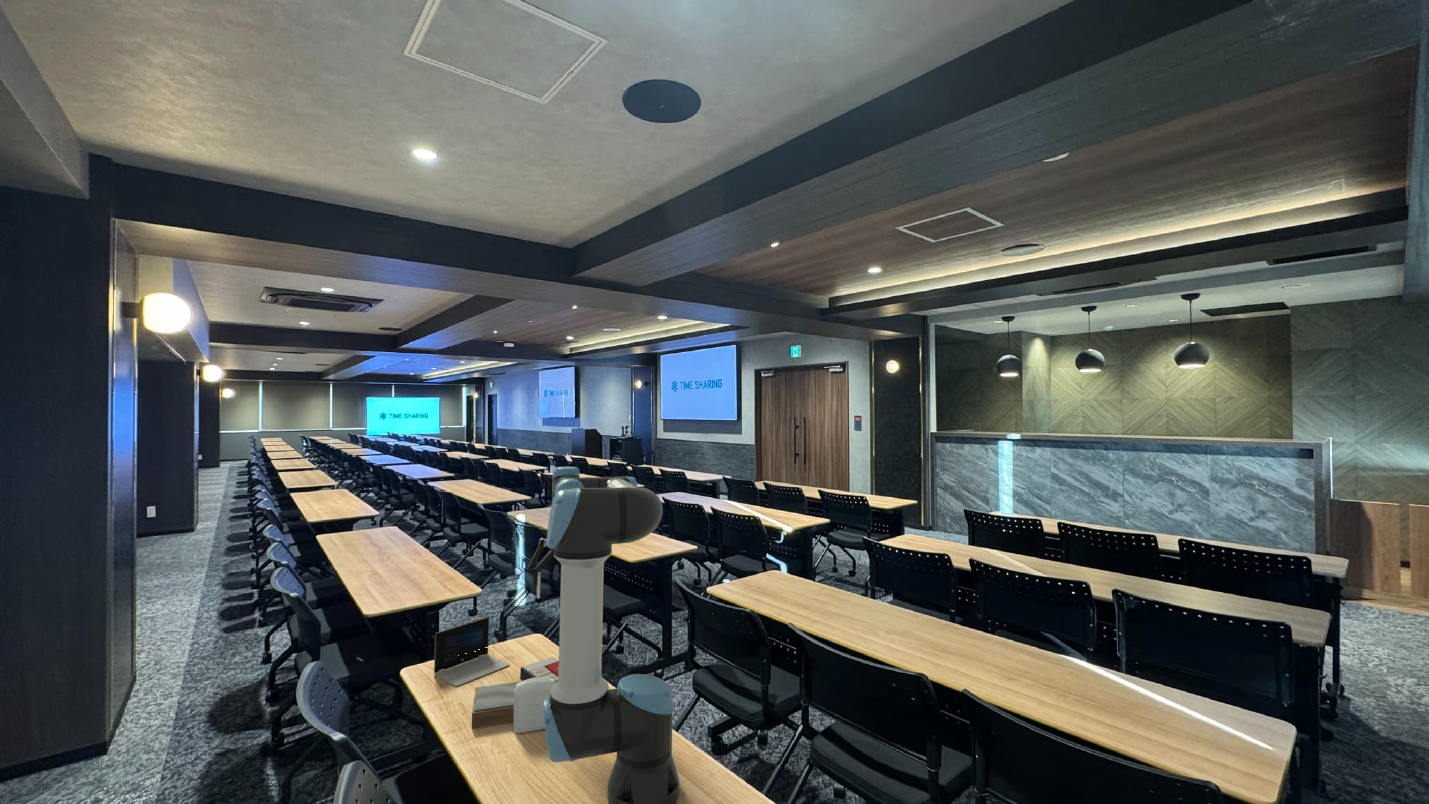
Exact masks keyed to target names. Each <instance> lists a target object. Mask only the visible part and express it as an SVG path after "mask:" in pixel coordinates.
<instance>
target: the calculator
mask: <svg viewBox="0 0 1429 804" xmlns="http://www.w3.org/2000/svg"><path fill="white" fill-rule="evenodd" d="M519 676H520V677H519V679H520V680H521V681H524V680H527V679H531V678H538V677H547V678H552V679H554V683H556V682H557V681H558V676H559V659H557V658H555V657H553V656H550V657H547V658H545V659H541V660H538V661H535V662H532V663H530V664H526V665H522V666H521V667H520V675H519Z"/></svg>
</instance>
